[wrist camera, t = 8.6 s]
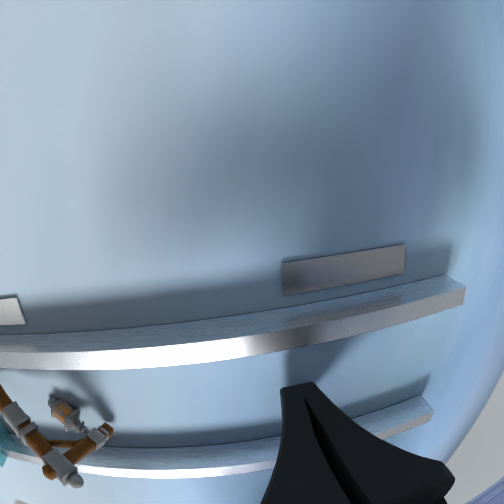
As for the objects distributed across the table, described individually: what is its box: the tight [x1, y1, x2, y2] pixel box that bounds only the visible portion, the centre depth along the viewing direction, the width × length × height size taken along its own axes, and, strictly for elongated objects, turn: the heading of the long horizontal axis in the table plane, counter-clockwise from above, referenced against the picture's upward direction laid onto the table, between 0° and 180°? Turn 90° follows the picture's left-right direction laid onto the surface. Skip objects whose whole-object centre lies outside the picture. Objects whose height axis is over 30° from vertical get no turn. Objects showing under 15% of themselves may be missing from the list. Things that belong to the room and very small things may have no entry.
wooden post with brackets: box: [0, 385, 113, 488], centre depth 10 cm, size 2×8×4 cm, turn 68°
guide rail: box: [0, 244, 466, 478], centre depth 10 cm, size 10×26×2 cm, turn 96°
